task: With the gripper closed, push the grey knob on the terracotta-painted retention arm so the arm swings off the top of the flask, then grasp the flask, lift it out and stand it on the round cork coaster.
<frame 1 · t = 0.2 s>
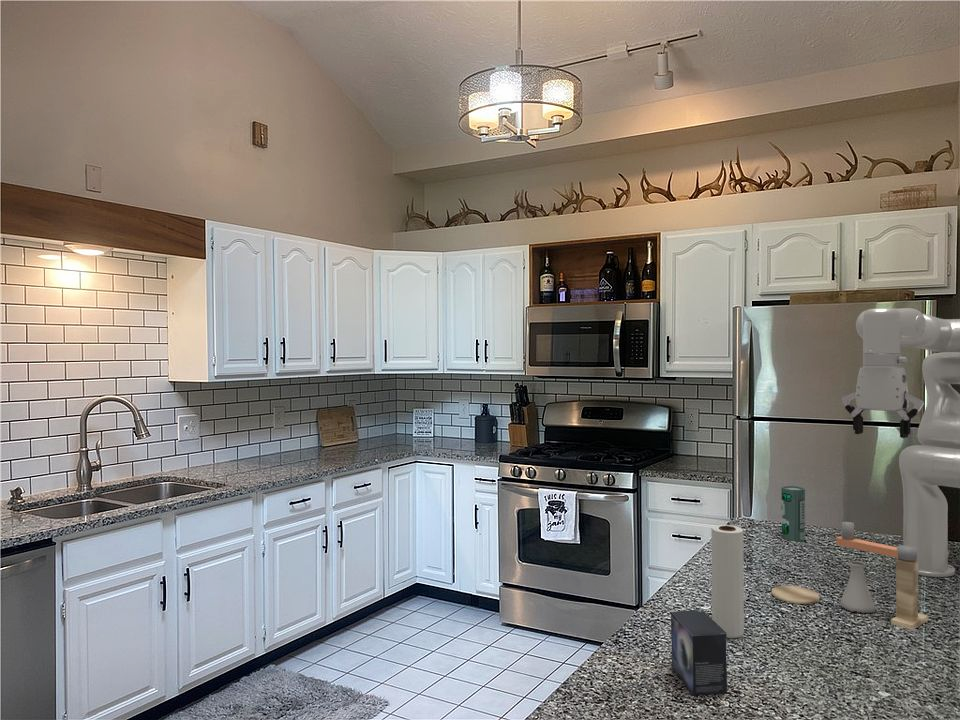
hand: (881, 435, 162), 37 cm above the countertop, tool pointing down, fingers open, 9 cm apart
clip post: (907, 621, 146), on the countertop
small box: (697, 681, 122), on the countertop
can: (793, 539, 208), on the countertop
paper towel roll: (730, 633, 142), on the countertop
coaster: (795, 596, 161), on the countertop
flask: (857, 608, 154), on the countertop
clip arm: (876, 539, 150), point 16 cm above the countertop, hinge at 0.0°
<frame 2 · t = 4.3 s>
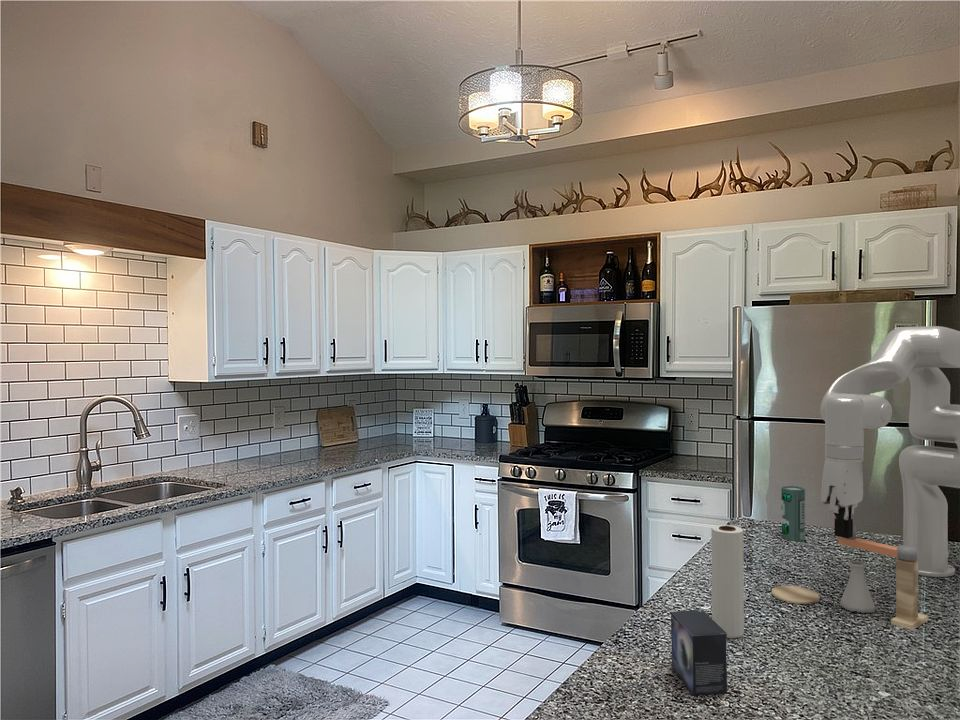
hand: (843, 536, 153), 16 cm above the countertop, tool pointing down, fingers closed
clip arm: (877, 539, 151), point 16 cm above the countertop, hinge at 4.3°, touching gripper
everything else where it was.
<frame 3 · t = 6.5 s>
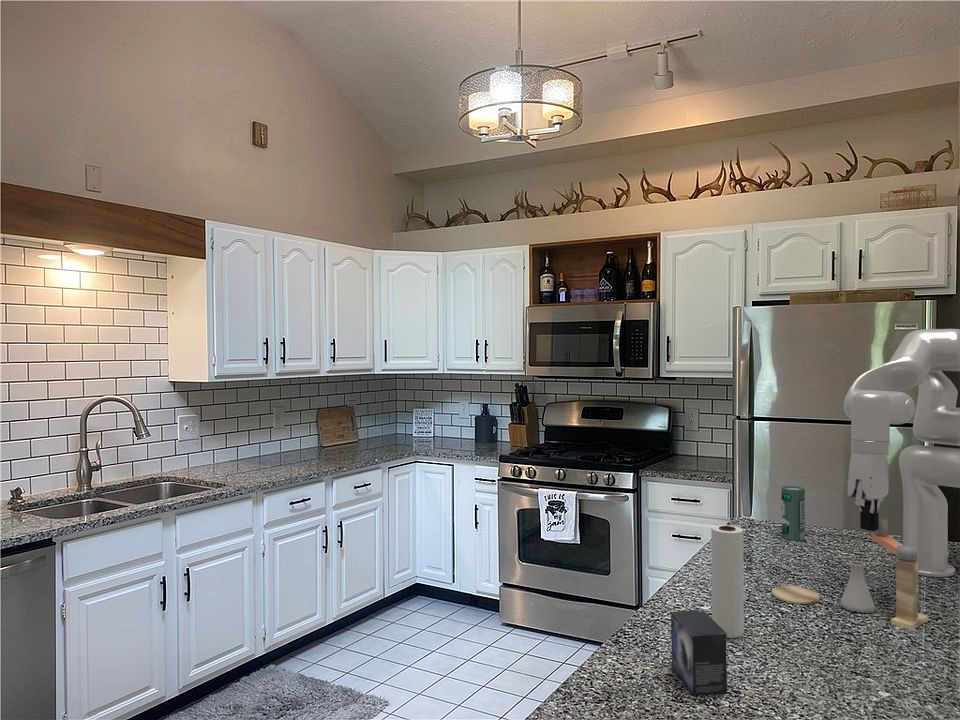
hand: (869, 529, 157), 16 cm above the countertop, tool pointing down, fingers closed
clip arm: (893, 538, 151), point 16 cm above the countertop, hinge at 44.6°, touching gripper
everything else where it was.
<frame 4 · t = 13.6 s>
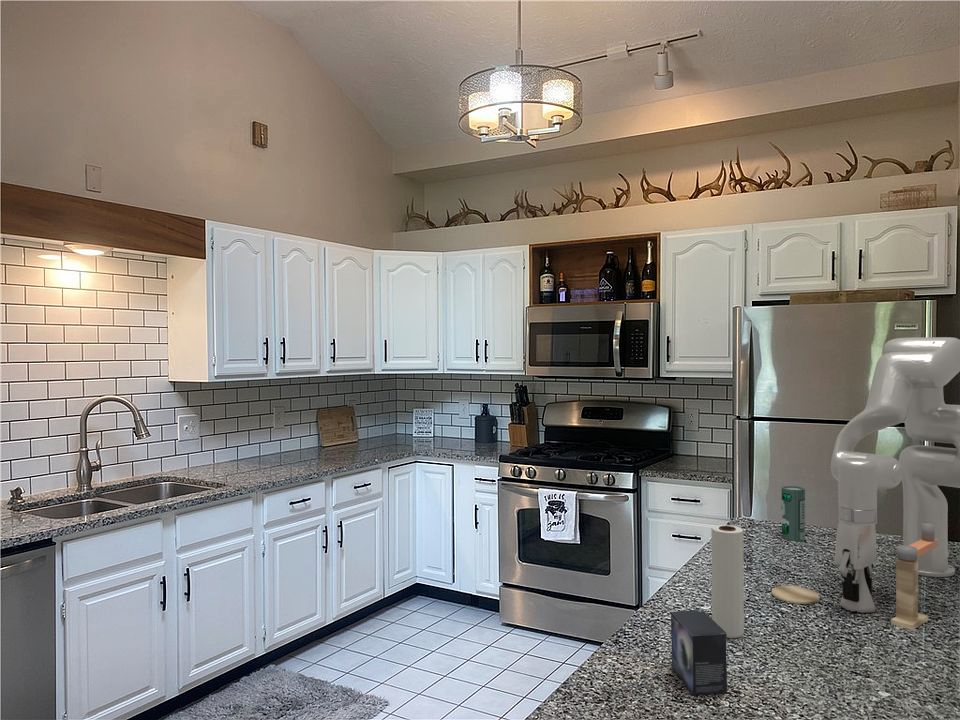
hand: (857, 596, 154), 3 cm above the countertop, tool pointing down, fingers closed on flask, 5 cm apart
flask: (857, 608, 154), on the countertop, touching gripper
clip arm: (918, 540, 149), point 16 cm above the countertop, hinge at 87.8°
everything else where it was.
when the fingers open (4 cm above the countertop, at t = 20.0 s): flask stays where it is, resting on coaster.
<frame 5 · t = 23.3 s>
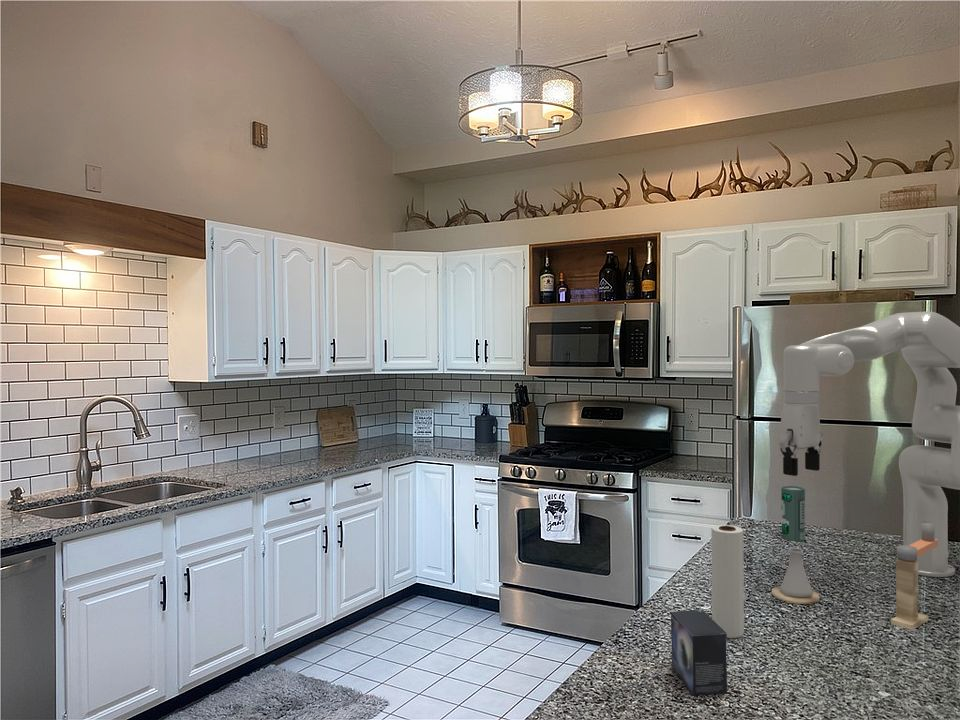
hand: (801, 472, 162), 28 cm above the countertop, tool pointing down, fingers open, 9 cm apart
flask: (796, 593, 161), point 1 cm above the countertop, touching coaster
everything else where it was.
at the end: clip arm at +88° (first picture: +0°); flask inside the target area on the coaster (0.2 cm from its centre), point 0.6 cm above the coaster's base; flask tilted 0° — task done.
